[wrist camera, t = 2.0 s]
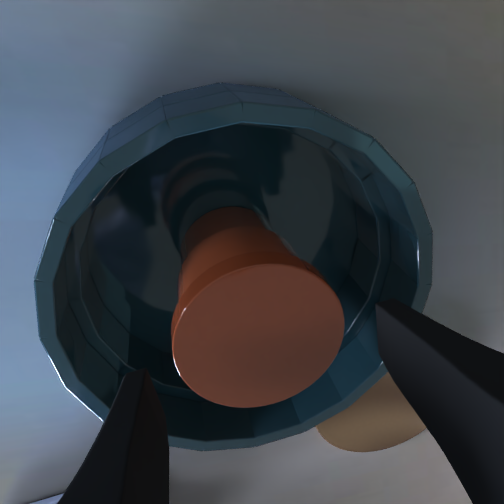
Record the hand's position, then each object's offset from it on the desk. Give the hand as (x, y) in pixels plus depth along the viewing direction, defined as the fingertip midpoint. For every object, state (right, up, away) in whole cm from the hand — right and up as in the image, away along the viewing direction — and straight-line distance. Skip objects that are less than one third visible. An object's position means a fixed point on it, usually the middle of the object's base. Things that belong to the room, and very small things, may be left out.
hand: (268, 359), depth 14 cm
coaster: (+7, -5, +13) cm, 16 cm away
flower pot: (-1, +3, +7) cm, 7 cm away
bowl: (-2, +3, +7) cm, 8 cm away
